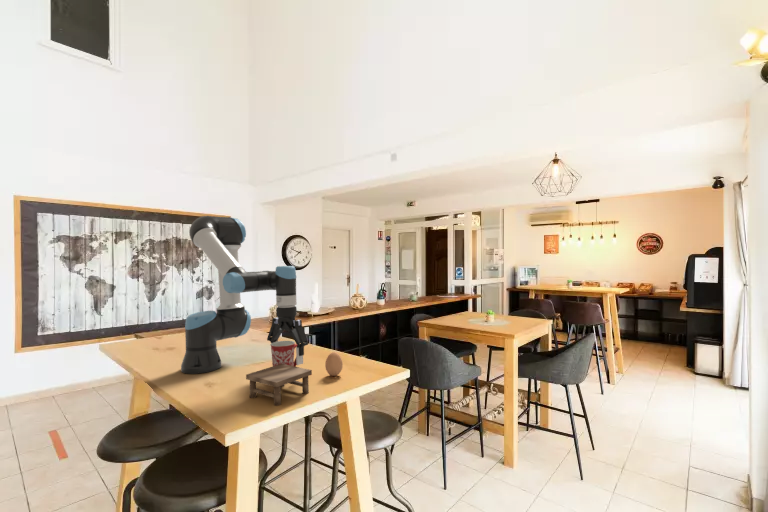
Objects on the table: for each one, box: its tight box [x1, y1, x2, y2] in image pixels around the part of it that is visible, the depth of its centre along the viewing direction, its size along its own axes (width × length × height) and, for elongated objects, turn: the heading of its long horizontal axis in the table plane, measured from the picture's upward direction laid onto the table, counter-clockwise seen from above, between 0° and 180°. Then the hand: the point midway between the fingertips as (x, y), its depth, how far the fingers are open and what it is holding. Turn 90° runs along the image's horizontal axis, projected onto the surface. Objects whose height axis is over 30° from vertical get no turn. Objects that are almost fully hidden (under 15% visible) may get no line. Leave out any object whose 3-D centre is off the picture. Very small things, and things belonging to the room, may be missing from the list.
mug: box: [269, 340, 297, 367], centre depth 145 cm, size 13×9×14 cm
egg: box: [325, 351, 344, 377], centre depth 146 cm, size 7×7×9 cm
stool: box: [245, 364, 313, 406], centre depth 126 cm, size 15×15×8 cm
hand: (287, 361), depth 145 cm, fingers open, 13 cm apart
